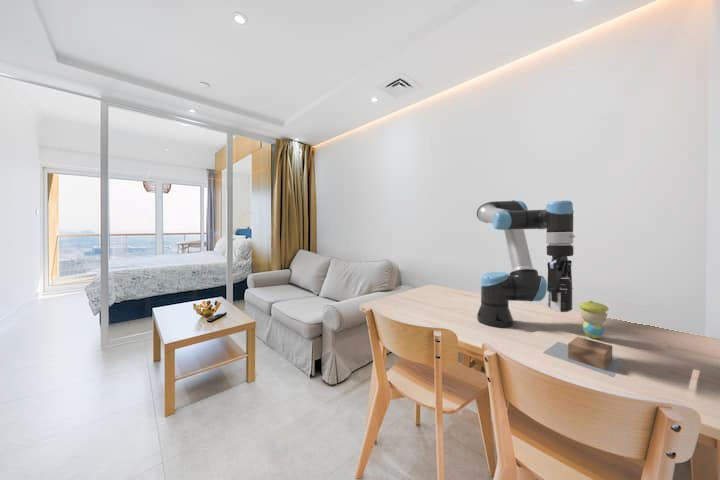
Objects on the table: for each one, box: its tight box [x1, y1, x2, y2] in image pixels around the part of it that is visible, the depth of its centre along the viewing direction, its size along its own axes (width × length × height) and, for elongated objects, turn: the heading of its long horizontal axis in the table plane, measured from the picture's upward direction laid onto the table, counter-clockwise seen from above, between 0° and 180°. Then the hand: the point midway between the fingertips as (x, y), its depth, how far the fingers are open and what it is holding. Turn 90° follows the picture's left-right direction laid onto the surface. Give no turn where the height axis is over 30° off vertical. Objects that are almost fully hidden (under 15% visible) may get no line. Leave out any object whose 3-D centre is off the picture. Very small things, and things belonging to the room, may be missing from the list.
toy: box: [578, 300, 609, 339], centre depth 103 cm, size 8×9×15 cm
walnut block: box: [567, 336, 613, 370], centre depth 85 cm, size 9×9×5 cm
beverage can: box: [547, 277, 573, 313], centre depth 91 cm, size 7×7×12 cm
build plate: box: [542, 341, 626, 378], centre depth 87 cm, size 18×14×1 cm
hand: (560, 308), depth 91 cm, fingers closed on beverage can, 7 cm apart
